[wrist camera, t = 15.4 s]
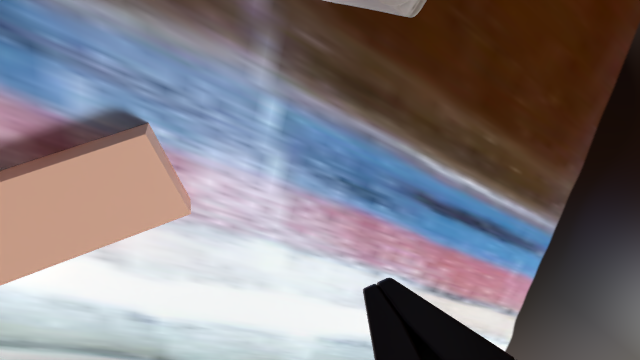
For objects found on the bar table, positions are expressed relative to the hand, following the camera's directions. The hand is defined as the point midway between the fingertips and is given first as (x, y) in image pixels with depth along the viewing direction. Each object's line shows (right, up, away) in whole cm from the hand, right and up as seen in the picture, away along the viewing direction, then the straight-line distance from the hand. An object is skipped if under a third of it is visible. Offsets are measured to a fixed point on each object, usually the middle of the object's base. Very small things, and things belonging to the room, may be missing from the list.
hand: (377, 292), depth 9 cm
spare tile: (-10, +4, +9) cm, 13 cm away
